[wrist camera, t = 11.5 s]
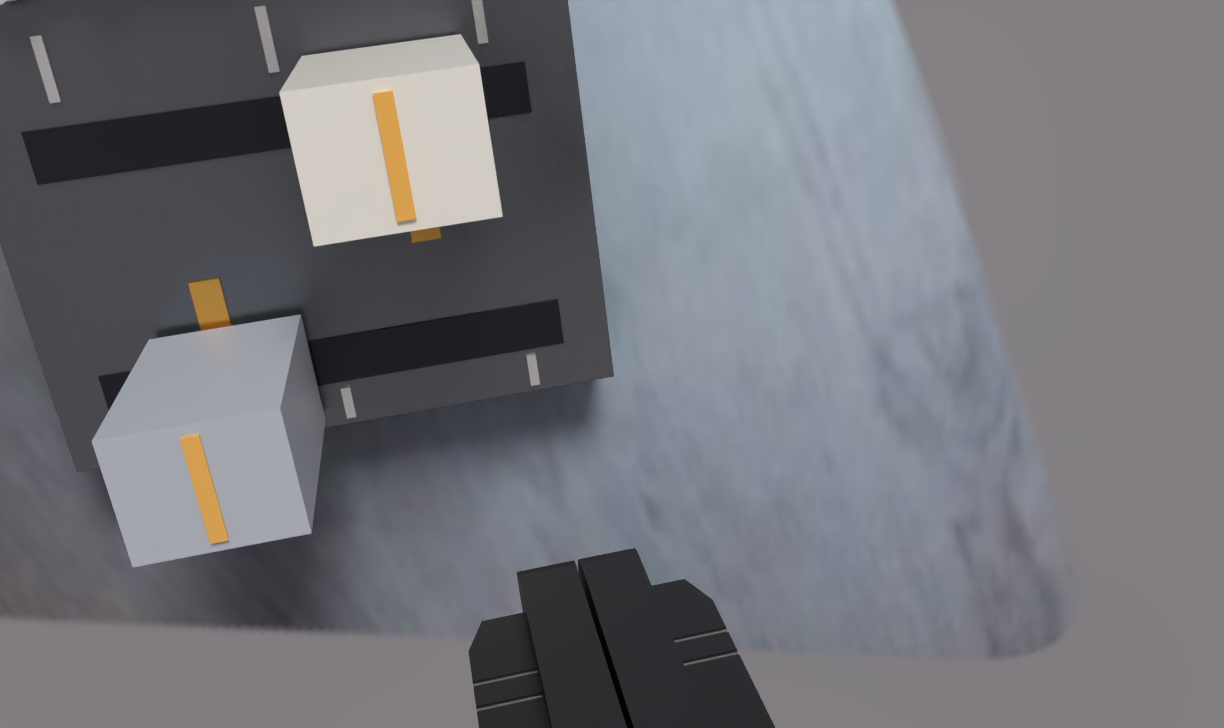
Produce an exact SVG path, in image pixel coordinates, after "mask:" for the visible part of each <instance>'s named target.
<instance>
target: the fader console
mask: <svg viewBox="0 0 1224 728" xmlns="http://www.w3.org/2000/svg"><path fill="white" fill-rule="evenodd" d="M458 34H461V36H462V37H463V39H464V40H465V42H466V44H467V45H468V47H469V49H470V50H471V52H472V53H473V55H474V57H475V58H476V60H477V62H478V63H479V67H480V73H481V79H482V86H483V92H484V99H485V105H486V112H487V118H488V125H489V131H490V137H491V144H492V150H493V157H494V163H495V170H496V176H497V183H498V189H499V195H500V202H501V208H502V215H503V217H498V218H491V219H485V220H479V221H472V222H466V223H460V224H453V225H447V226H441V227H434V228H428V229H422V230H416V231H409V232H403V233H397V234H390V235H384V236H378V237H371V238H365V239H359V240H352V241H346V242H340V243H333V244H327V245H321V246H313V241H312V237H311V232H310V228H309V223H308V219H307V214H306V210H305V205H304V201H303V196H302V192H301V188H300V183H299V179H298V174H297V170H296V165H295V161H294V156H293V152H292V147H291V143H290V138H289V134H288V130H287V125H286V121H285V116H284V112H283V107H282V103H281V98H280V94H279V92H280V90H281V89H282V87H283V85H284V84H285V82H286V81H287V79H288V77H289V76H290V74H291V72H292V71H293V69H294V68H295V66H296V64H297V63H298V61H299V59H300V58H301V56H305V55H312V54H320V53H327V52H334V51H341V50H349V49H356V48H363V47H371V46H378V45H385V44H392V43H400V42H407V41H414V40H422V39H429V38H436V37H443V36H451V35H458ZM0 244H1V247H2V250H3V253H4V256H5V259H6V262H7V265H8V268H9V271H10V274H11V277H12V280H13V283H14V286H15V289H16V292H17V295H18V298H19V301H20V304H21V307H22V310H23V313H24V316H25V319H26V322H27V325H28V328H29V331H30V334H31V337H32V339H33V342H34V345H35V348H36V351H37V354H38V357H39V360H40V363H41V366H42V369H43V372H44V375H45V378H46V381H47V384H48V387H49V390H50V393H51V396H52V399H53V402H54V405H55V408H56V411H57V414H58V417H59V420H60V423H61V426H62V429H63V432H64V435H65V438H66V441H67V444H68V447H69V450H70V453H71V456H72V459H73V462H74V465H75V468H76V471H77V472H80V471H86V470H91V469H97V468H100V466H99V462H98V459H97V456H96V453H95V450H94V447H93V444H92V440H93V438H94V436H95V434H96V433H97V431H98V429H99V427H100V426H101V424H102V422H103V420H104V419H105V417H106V415H107V413H108V411H109V410H110V408H111V406H112V404H113V403H114V401H115V399H116V397H117V395H118V394H119V392H120V390H121V388H122V387H123V385H124V383H125V381H126V380H127V378H128V376H129V374H130V372H131V371H132V369H133V367H134V365H135V364H136V362H137V360H138V358H139V357H140V355H141V353H142V351H143V349H144V348H145V346H146V344H147V342H148V341H149V339H155V338H161V337H167V336H173V335H179V334H185V333H191V332H197V331H203V330H210V329H216V328H222V327H228V326H234V325H240V324H246V323H252V322H258V321H264V320H270V319H276V318H282V317H288V316H294V315H300V314H301V318H302V322H303V326H304V330H305V335H306V339H307V343H308V347H309V352H310V356H311V360H312V365H313V369H314V373H315V377H316V382H317V386H318V390H319V394H320V399H321V403H322V407H323V411H324V416H325V420H326V421H325V428H327V427H332V426H338V425H344V424H349V423H355V422H360V421H366V420H372V419H377V418H383V417H388V416H394V415H400V414H405V413H411V412H417V411H422V410H428V409H433V408H439V407H445V406H450V405H456V404H461V403H467V402H473V401H478V400H484V399H489V398H495V397H501V396H506V395H512V394H517V393H523V392H529V391H534V390H540V389H546V388H551V387H557V386H562V385H568V384H574V383H579V382H585V381H590V380H596V379H602V378H607V377H613V376H614V373H613V365H612V357H611V349H610V341H609V333H608V324H607V316H606V308H605V300H604V292H603V284H602V276H601V268H600V259H599V251H598V243H597V235H596V227H595V219H594V211H593V202H592V194H591V186H590V178H589V170H588V162H587V154H586V146H585V137H584V129H583V121H582V113H581V105H580V97H579V89H578V80H577V72H576V64H575V56H574V48H573V40H572V32H571V24H570V15H569V7H568V0H15V1H9V2H7V3H4V4H1V5H0Z"/></svg>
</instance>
